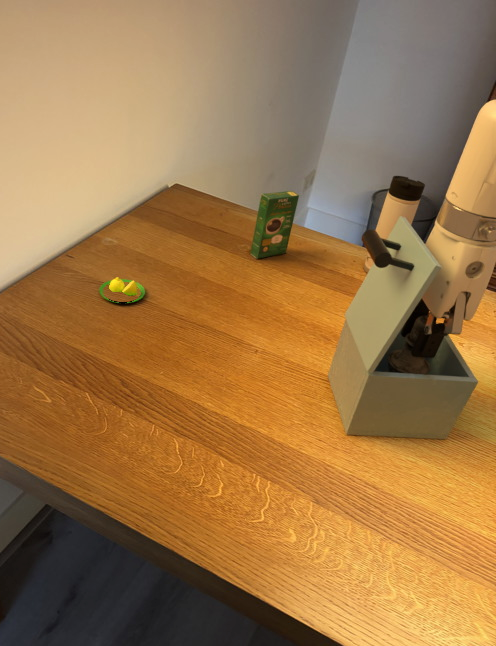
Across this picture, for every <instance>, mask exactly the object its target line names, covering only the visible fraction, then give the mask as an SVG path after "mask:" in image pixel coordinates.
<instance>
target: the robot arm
mask: <svg viewBox="0 0 496 646" xmlns="http://www.w3.org/2000/svg"><path fill="white" fill-rule="evenodd" d="M424 244H425V245H426V247H427V248H428V249H429V251H430V252H431V253H432V255H433V256H434V257H435V259H436V260H437V261H438V263H439V264H440V265H441V269H440V271H439V272H438V274H437V275H436V277H435V278H434V280H433V281H432V283H431V284H430V286H429V287H428V289H427V290H426V292H425V293H424V295H423V297H422V298H421V300H420V301H419V303H418V304H417V306H416V307H415V309H414V310H413V312H412V313H411V315H410V316H409V318H408V319H407V321H406V323H405V324H404V326H403V329H402V331H401V335H402V337H406V335H407V334H409V333H411V330H412V328H413V326H414V323H415V321H416V319H417V318H418V317H420V316H428V315H427V314H428V313H430V314H429V317H428V320H427V323H426V326H425V329H424V330H420V333H419V335H418V337H417V339H416V342H415V344H414V346H413V349H412V351H411V354H412V356H413V357H425V358H433V357H435V355H436V353H437V351H438V349H439V347H440V344H441V342H442V340H443V338H444V336H448V335H455V336H456V335H458V336H459V335H461V334H462V331H463V326H464V325H463V324H464V321H468V322H470V321H471V320H472V319H473V318H474V316H475V314H476V312H477V311H478V308H479V306H480V304H481V302H482V300H483V298H484V295H485V292H486V291H487V287H488V285H489V283H490V280H491V277H492V274H493V272H494V269H495V265H496V99H492V100H490V101H487V102H486V103H485V104H484V105H483V106H482V107H481V108H480V110H479V111H478V113H477V115H476V118H475V120H474V123H473V125H472V128H471V130H470V132H469V135H468V138H467V140H466V143H465V146H464V147H463V151H462V153H461V156H460V158H459V160H458V163H457V165H456V168H455V170H454V173H453V176H452V177H451V181H450V183H449V186H448V188H447V191H446V193H445V196H444V199H443V201H442V203H441V206H440V209H439V211H438V214H437V216H436V218H435V221H434V226H433V228H432V229H431V232H430V234H429V235H428V237H427V239H426V242H425V243H424ZM438 319H443V322H437V320H438ZM435 323H437V324H435Z"/></svg>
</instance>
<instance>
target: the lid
mask: <svg viewBox="0 0 496 646" xmlns="http://www.w3.org/2000/svg"><path fill="white" fill-rule="evenodd" d="M375 230H376V229H372V228H371V229H367V230H365V231H364V232H363V233H362V235H361V242H362V243H363V245H364V247H365V249H366V251H367V254H368V253H369V254H370V256H371V258H372V260H373V262H374V263H373V265H372V267H371V269H370V270H369V272H368V273H366V275H365V278H364V280H363V281H362V283H361V284H360V287H359V288H358V289H357V291H356V293H355V295H354V297H353V299H352V300H351V302H350V304H349V306H348V307H347V310H346V311H345V313H344V319H345V320H347V323H348V325H349V328H350V330H351V333H352V335H353V338H354V340H355V343H356V345H357V348H358V350H359V352H360V355H361V357H362V360H363V362H364V365H365V367H366V370H367V372H371V373H373V371H374V370H375V368H376V367H377V365H378V364H379V362H380V361H381V359H382V358H383V356H384V355H385V353H386V352H387V350H388V349H389V347H390V345H391V344H392V342H393V341H394V339H395V338H396V336H397V335H398V333H399V332H400V330H401V329H402V327H403V326H404V324H405V323H406V321H407V319H408V318H409V316H410V315H411V313H412V312H413V310H414V309H415V307H416V306H417V304H418V303H419V301H420V300H421V298H422V297H423V295H424V293H425V292H426V290H427V289H428V287H429V286H430V284H431V283H432V281H433V280H434V278H435V277H436V275H437V274H438V272H439V271H440V269H441V265H440V264H439V263H438V261H437V260H436V259H435V257H434V256H433V255H432V253H431V252H430V251H429V249H428V248H427V247H426V245H425V244H426V243H424V241H423V240H422V238H421V237H420V236H419V234H418V233H417V231H416V230H415V229H414V227H413V226H412V224H411V225H410V223H409V222H408V221H407V219H406V218H405V217H402V216H400V217H399V219H398V221H397V222H396V224H395V226H394V228H393V230H392V231H391V233H390V235H389V237H388V238H387V240H386V239H382V238H380V236H379V235H378V233H377V232H376V231H375Z"/></svg>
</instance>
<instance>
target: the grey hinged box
mask: <svg viewBox="0 0 496 646" xmlns="http://www.w3.org/2000/svg"><path fill="white" fill-rule="evenodd" d="M402 329H403V327H402ZM402 329H401V330H400V332H399V333H398V335H397V336H396V338H395V339H394V341H393V342H392V344H391V345H390V347H389V349H388V350H387V352H386V353H385V355H384V356H383V358H382V359H381V361H380V362H379V364H378V365H377V367H376V368H375V370H374V371H373V373H371V372H367V370H366V367H365V365H364V362H363V360H362V357H361V355H360V352H359V350H358V348H357V345H356V343H355V340H354V338H353V335H352V333H351V330H350V328H349V325H348V323H347V320H346V319H345V320H344V323H343V325H342V330H341V333H340V335H339V339H338V342H337V345H336V348H335V351H334V353H333V357H332V360H331V364H330V367H329V370H328V373H327V378H328V381H329V385H330V388H331V392H332V394H333V398H334V400H335V401H334V402H335V404H336V408H337V410H338V413H339V417H340V420H341V423H342V427H343V430H344V432H345V435H347V436H365V437H366V436H367V437H369V436H370V437H386V438H387V437H388V438H389V437H390V438H406V439H407V438H410V439H431V440H447V439H448V437H449V435H450V434H451V432H452V430H453V429H454V427H455V425H456V423H457V421H458V420H459V418H460V415H461V414H462V412H463V410H464V409H465V408H466V405H467V403H468V401H469V400H470V398H471V396H472V394H473V392H474V391H475V389H476V387H477V385H478V383H479V381H478V379H477V377H476V376H475V375H474V373H473V372H472V370H471V368H470V366H469V365H468V364H467V361H466V360H465V359H464V357H463V355H462V354H461V352H460V350H459V349H458V348H457V346H456V345H455V343H454V341H453V340H452V337H450V334H448V336H444V338H443V340H442V342H441V344H440V347H439V349H438V351H437V353H436V355H435V357H433V358H425V357H424V359H425V360H426V361H427V362H428V363H429V365H430V371H429V373H428V374H427V375H424V374H408V373H392V372H386V371H387V370H389V367H388V362H389V361H388V356H389V354H390V353H391V352H392V351H395V350H402V349H403V348H404V345H405V343H406V339H405V337H402V335H401V331H402Z"/></svg>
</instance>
